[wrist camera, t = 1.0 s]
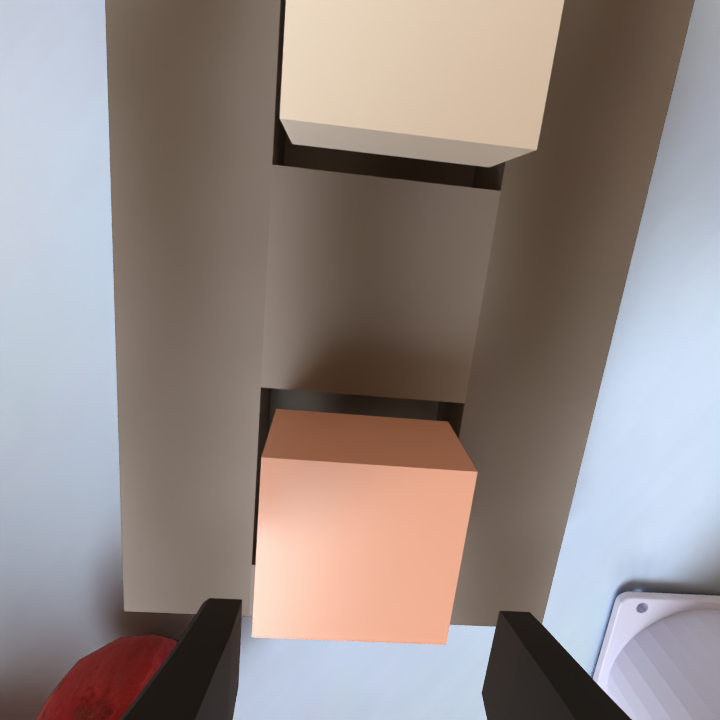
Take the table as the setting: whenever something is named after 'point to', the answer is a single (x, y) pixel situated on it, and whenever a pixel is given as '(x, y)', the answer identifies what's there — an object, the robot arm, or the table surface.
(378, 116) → the cream key
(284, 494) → the terracotta key
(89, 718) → the onion
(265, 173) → the key bed
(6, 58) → the table surface
